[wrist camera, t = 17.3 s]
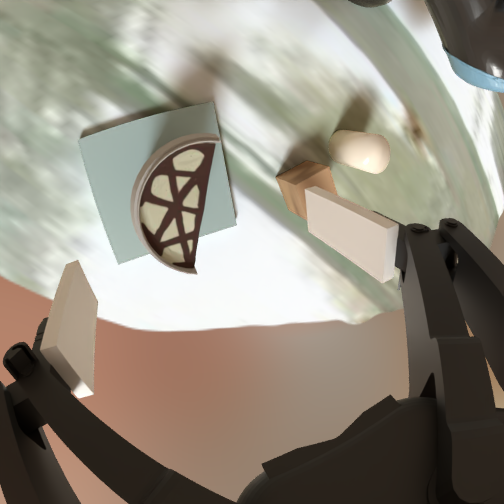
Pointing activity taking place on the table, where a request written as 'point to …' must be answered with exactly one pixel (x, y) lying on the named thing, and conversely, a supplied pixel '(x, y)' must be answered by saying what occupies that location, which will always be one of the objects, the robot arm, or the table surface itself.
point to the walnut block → (304, 184)
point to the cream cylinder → (360, 150)
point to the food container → (173, 199)
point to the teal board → (131, 161)
